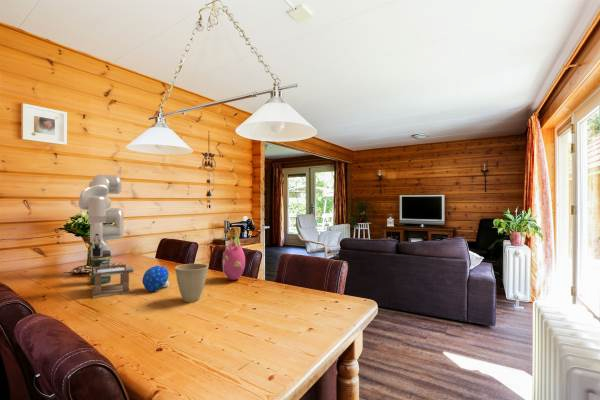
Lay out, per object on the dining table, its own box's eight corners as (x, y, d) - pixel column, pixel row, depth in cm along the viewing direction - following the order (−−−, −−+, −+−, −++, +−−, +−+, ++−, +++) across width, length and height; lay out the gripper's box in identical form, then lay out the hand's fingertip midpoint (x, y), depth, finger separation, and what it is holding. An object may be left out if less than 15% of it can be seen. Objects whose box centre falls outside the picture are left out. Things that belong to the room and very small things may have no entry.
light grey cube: (90, 255, 158) (90, 246, 158) (102, 254, 161) (102, 245, 161) (90, 257, 154) (90, 247, 154) (102, 256, 157) (102, 246, 157)
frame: (92, 288, 164) (92, 266, 164) (126, 284, 173) (126, 263, 173) (93, 298, 148) (93, 274, 148) (130, 292, 157) (130, 270, 157)
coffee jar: (94, 285, 169) (95, 252, 169) (88, 283, 173) (88, 251, 173) (113, 282, 177) (113, 250, 177) (106, 280, 182) (106, 248, 182)
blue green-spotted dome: (181, 271, 170) (162, 259, 160) (173, 296, 162) (152, 284, 151) (162, 274, 175) (142, 262, 165) (153, 298, 166) (131, 287, 156)
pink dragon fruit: (219, 277, 190) (219, 229, 190) (240, 275, 195) (241, 228, 195) (225, 284, 173) (225, 231, 174) (248, 282, 179) (248, 230, 179)
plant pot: (197, 306, 138) (197, 270, 138) (168, 303, 141) (168, 269, 141) (213, 296, 153) (213, 264, 153) (186, 294, 156) (186, 262, 156)
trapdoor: (97, 272, 162) (97, 269, 162) (131, 268, 171) (131, 265, 171) (97, 277, 152) (98, 273, 152) (133, 273, 161) (133, 270, 161)
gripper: (88, 219, 163) (88, 253, 163) (87, 221, 149) (87, 258, 149) (105, 219, 167) (105, 252, 167) (105, 221, 153) (105, 257, 153)
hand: (96, 254), depth 158 cm, fingers closed on light grey cube, 5 cm apart
